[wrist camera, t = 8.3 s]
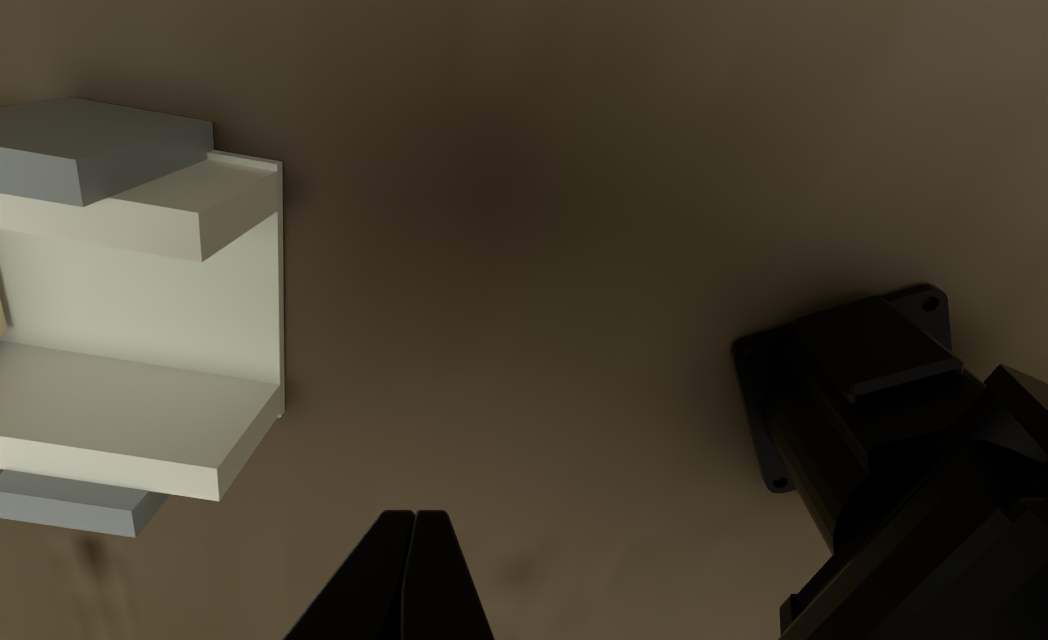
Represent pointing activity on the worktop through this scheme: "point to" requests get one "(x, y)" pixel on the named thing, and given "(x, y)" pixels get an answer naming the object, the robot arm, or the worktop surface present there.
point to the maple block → (2, 321)
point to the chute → (132, 312)
